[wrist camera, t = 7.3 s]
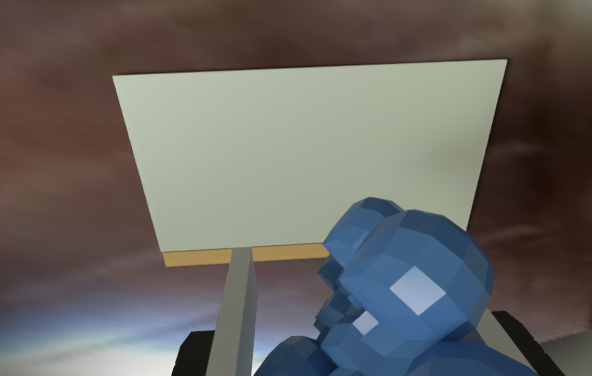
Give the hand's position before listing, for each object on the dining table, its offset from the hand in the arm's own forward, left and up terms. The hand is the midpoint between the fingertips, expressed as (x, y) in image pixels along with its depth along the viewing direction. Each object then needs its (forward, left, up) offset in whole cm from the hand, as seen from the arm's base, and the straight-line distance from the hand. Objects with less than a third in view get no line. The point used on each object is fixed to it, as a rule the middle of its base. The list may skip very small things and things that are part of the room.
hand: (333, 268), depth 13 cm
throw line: (0, -8, -12) cm, 14 cm away
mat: (0, 0, -12) cm, 12 cm away
